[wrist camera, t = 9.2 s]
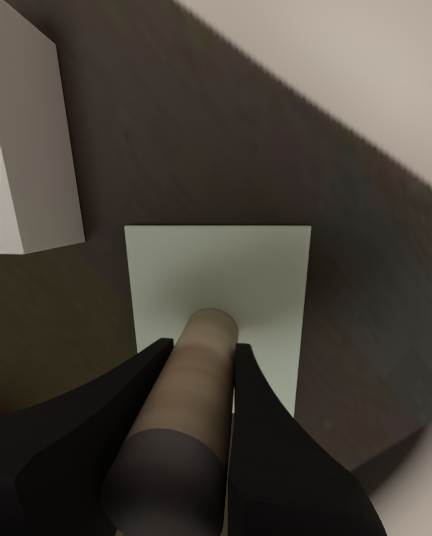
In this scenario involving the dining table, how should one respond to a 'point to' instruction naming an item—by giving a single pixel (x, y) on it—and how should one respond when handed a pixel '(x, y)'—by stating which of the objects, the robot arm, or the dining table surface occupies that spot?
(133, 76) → the dining table surface
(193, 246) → the sage board
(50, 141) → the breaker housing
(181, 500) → the tan lidded jar
